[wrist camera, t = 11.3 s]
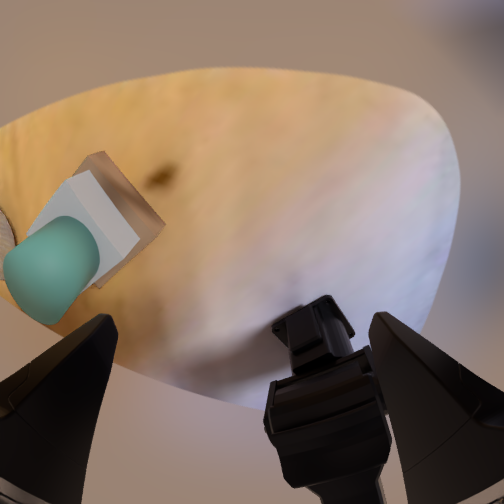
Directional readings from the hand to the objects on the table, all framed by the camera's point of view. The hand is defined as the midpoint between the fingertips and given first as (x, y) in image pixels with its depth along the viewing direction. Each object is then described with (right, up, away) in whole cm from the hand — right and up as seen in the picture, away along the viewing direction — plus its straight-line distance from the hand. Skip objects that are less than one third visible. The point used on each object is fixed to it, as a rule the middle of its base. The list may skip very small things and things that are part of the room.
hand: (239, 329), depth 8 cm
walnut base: (-12, +6, +12) cm, 18 cm away
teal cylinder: (-12, +3, +7) cm, 14 cm away
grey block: (-12, +4, +10) cm, 16 cm away
